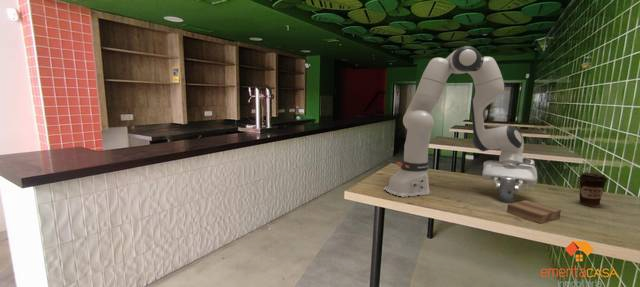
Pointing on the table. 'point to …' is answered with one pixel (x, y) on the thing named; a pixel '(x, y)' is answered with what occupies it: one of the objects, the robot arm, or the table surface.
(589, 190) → the coffee cup
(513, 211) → the base block
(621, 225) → the table surface
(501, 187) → the tin
